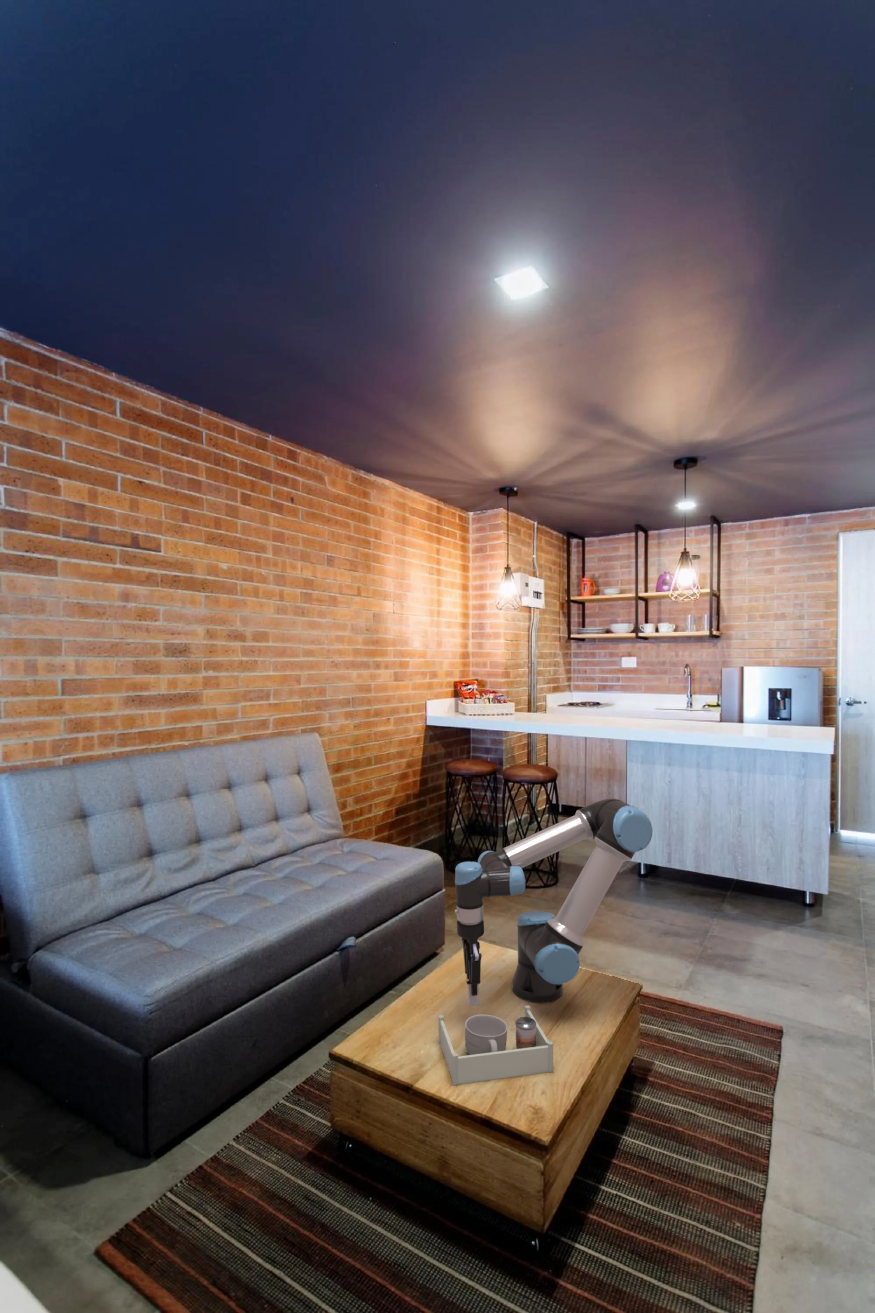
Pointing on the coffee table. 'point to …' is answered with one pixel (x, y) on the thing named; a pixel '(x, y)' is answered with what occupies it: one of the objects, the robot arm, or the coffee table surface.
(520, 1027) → the tin can
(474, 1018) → the teacup
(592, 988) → the coffee table surface
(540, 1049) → the crate
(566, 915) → the robot arm
